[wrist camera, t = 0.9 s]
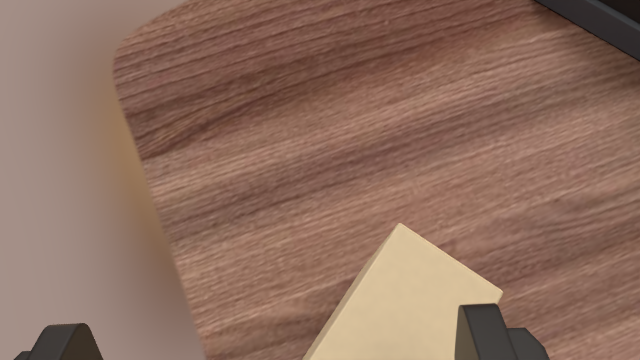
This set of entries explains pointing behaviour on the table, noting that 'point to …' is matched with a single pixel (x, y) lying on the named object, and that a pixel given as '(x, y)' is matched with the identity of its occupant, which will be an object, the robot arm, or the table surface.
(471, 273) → the tan rectangular block
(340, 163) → the table surface
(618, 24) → the dark gray square slab
